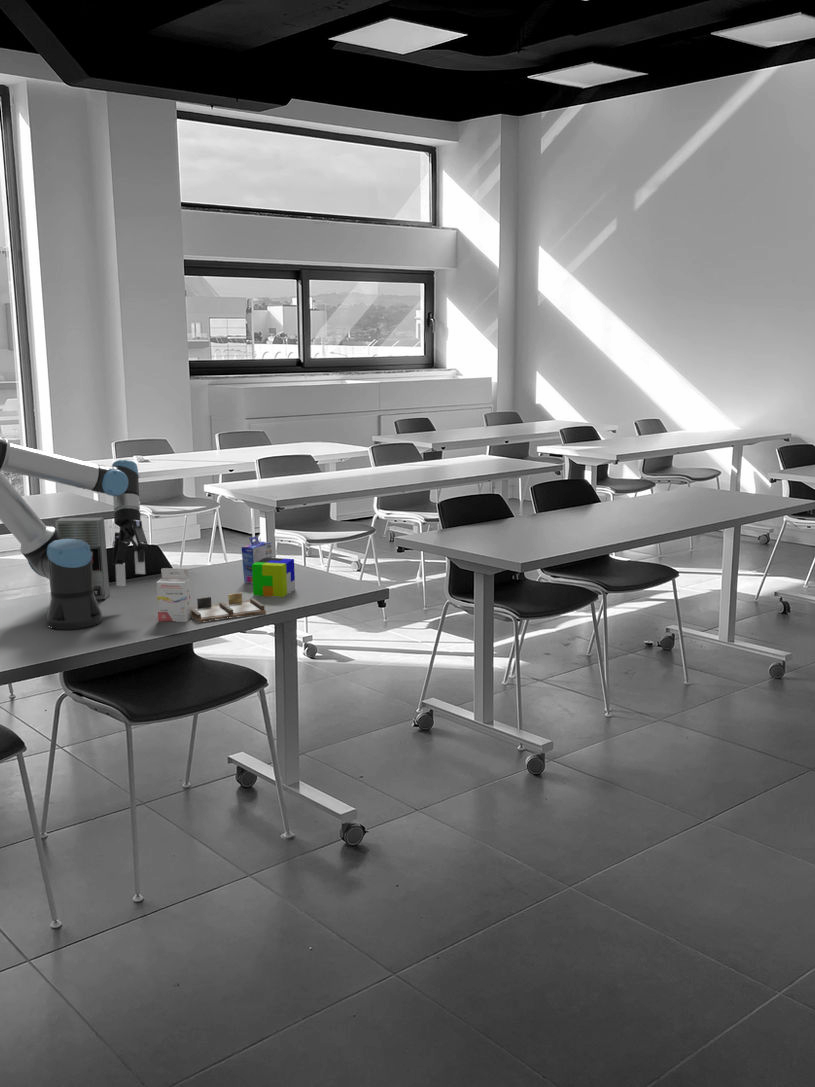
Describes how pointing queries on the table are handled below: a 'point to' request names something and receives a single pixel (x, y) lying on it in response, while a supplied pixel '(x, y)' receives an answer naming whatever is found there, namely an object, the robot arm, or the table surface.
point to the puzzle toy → (273, 577)
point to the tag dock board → (226, 608)
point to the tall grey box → (95, 537)
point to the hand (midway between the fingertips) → (130, 579)
